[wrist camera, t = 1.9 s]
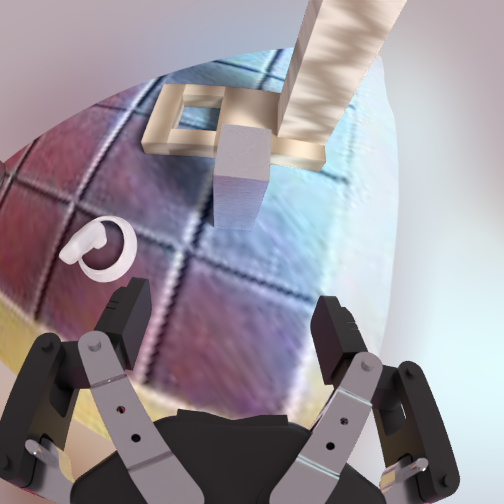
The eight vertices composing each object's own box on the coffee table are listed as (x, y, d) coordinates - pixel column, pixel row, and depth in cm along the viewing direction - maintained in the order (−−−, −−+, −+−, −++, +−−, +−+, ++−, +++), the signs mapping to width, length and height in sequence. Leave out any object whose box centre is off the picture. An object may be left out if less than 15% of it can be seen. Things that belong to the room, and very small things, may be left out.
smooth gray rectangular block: (214, 227, 29) (213, 174, 19) (219, 187, 31) (222, 123, 20) (251, 231, 30) (269, 181, 19) (254, 190, 31) (271, 129, 20)
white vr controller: (90, 336, 20) (32, 283, 17) (107, 279, 30) (69, 239, 27) (145, 285, 20) (83, 221, 17) (148, 240, 31) (109, 197, 28)
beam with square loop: (145, 154, 31) (92, -49, 5) (166, 96, 34) (150, -68, 8) (319, 172, 33) (431, -9, 7) (314, 112, 36) (383, -40, 10)
